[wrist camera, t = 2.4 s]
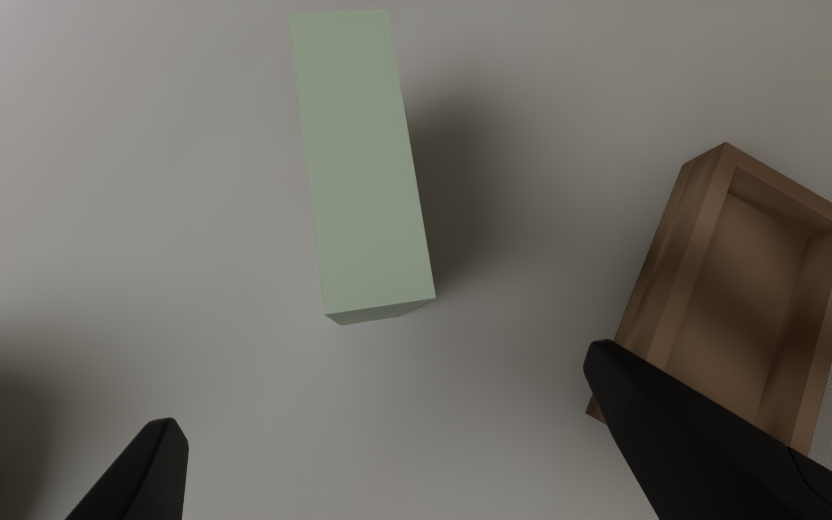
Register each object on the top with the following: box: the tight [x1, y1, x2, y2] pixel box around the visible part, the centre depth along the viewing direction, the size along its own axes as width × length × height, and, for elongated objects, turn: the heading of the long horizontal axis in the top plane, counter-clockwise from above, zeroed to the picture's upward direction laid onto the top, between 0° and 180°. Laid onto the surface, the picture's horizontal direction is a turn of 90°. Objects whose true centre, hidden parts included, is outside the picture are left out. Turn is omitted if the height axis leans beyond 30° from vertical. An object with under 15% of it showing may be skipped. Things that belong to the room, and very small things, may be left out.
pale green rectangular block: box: [288, 10, 436, 326], centre depth 17 cm, size 9×3×10 cm, turn 9°
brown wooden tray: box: [586, 142, 832, 456], centre depth 22 cm, size 16×9×3 cm, turn 152°
